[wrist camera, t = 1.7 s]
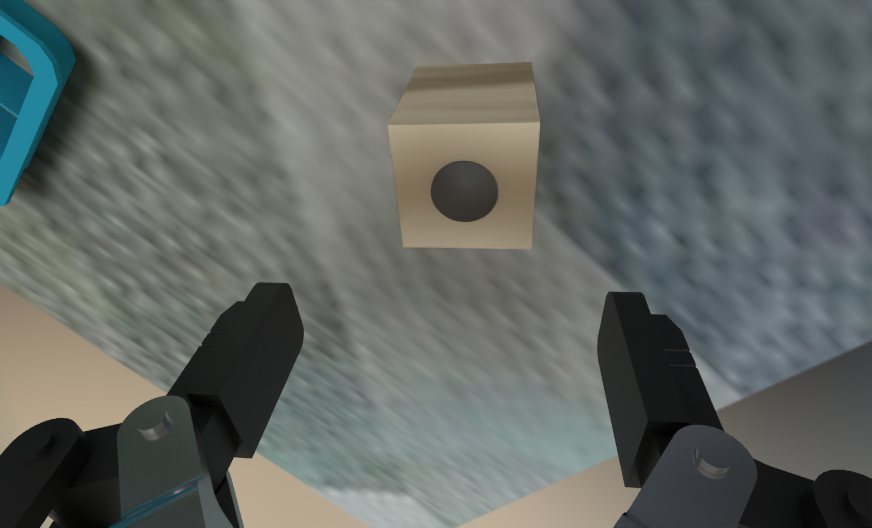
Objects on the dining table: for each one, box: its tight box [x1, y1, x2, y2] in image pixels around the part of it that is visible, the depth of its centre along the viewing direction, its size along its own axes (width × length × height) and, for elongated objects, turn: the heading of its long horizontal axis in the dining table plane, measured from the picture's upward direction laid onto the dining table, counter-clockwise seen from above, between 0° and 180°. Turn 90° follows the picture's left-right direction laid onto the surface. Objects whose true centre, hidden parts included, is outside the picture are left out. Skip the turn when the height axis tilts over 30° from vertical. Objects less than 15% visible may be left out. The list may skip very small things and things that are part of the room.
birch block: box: [387, 62, 540, 249], centre depth 20 cm, size 5×5×7 cm
